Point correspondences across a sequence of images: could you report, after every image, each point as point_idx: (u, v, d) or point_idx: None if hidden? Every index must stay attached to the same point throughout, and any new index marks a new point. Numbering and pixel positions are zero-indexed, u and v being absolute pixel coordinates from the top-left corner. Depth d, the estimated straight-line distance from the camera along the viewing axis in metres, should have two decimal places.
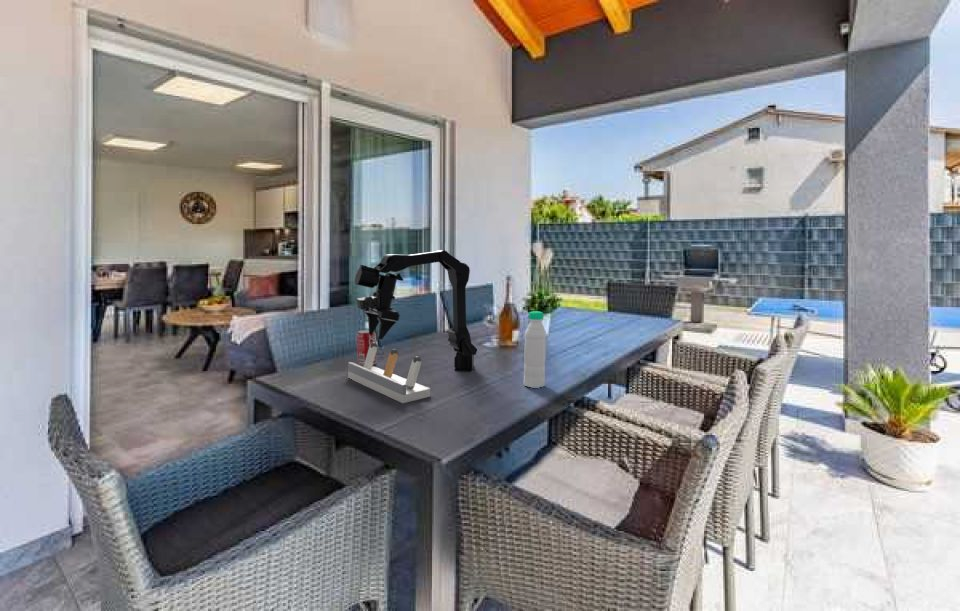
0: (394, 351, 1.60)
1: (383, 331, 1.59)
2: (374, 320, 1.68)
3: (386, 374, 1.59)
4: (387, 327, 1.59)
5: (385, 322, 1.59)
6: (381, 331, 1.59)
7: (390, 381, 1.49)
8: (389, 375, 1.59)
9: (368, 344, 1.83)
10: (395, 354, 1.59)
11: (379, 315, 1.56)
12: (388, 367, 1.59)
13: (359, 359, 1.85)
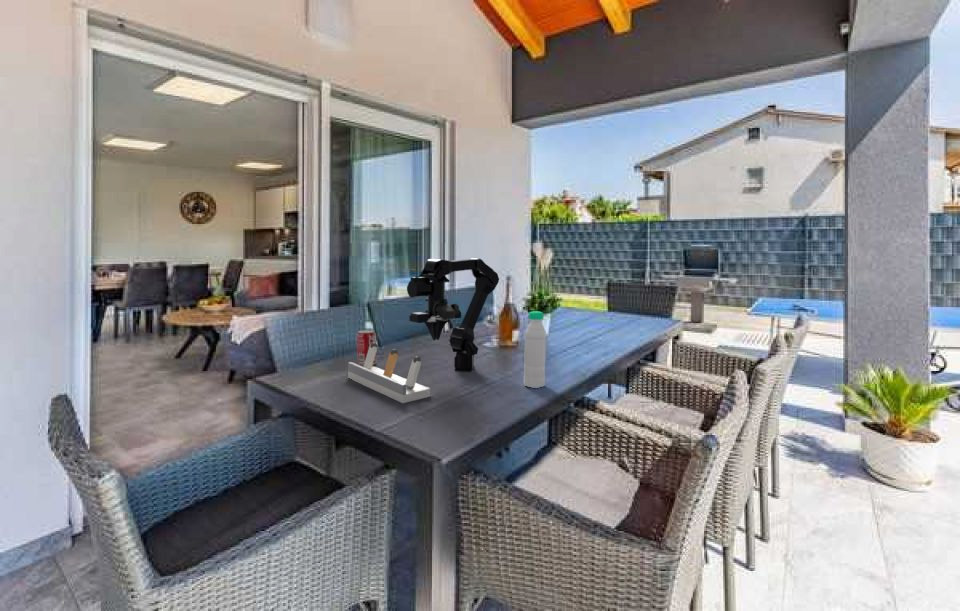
0: (394, 351, 1.60)
1: None
2: None
3: (386, 374, 1.59)
4: None
5: None
6: None
7: (390, 381, 1.49)
8: (389, 375, 1.59)
9: (368, 344, 1.83)
10: (395, 354, 1.59)
11: (457, 316, 1.73)
12: (388, 367, 1.59)
13: (359, 359, 1.85)
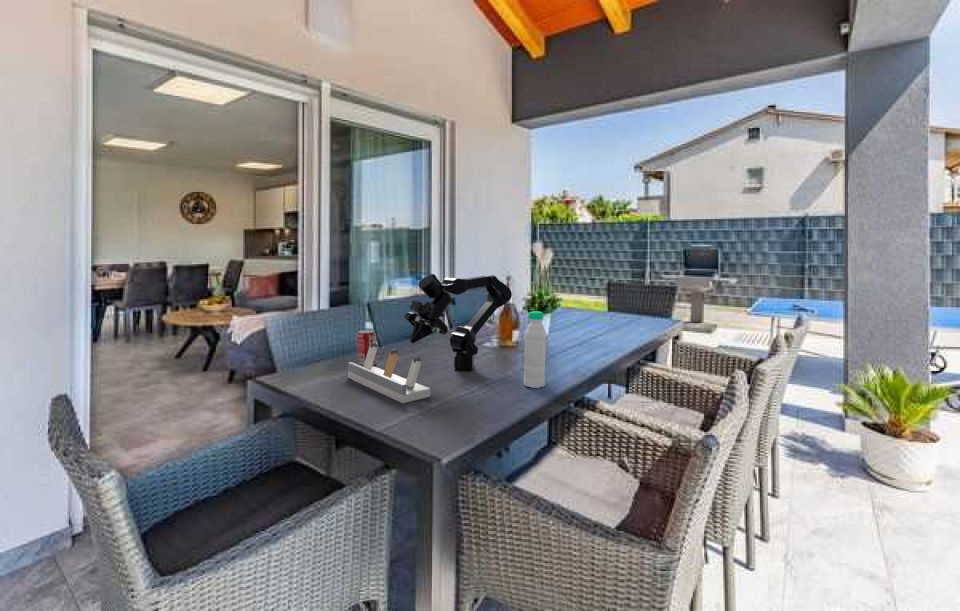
0: (394, 351, 1.60)
1: (418, 336, 1.65)
2: None
3: (386, 374, 1.59)
4: (423, 334, 1.66)
5: (423, 329, 1.66)
6: (417, 335, 1.65)
7: (390, 381, 1.49)
8: (389, 375, 1.59)
9: (368, 344, 1.83)
10: (395, 354, 1.59)
11: (432, 321, 1.61)
12: (388, 367, 1.59)
13: (359, 359, 1.85)
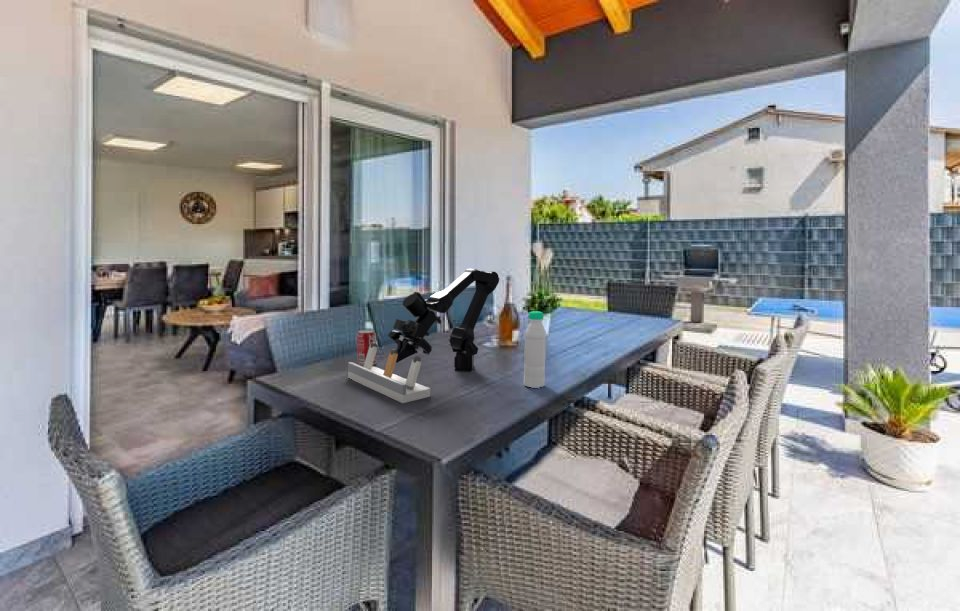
0: (394, 351, 1.60)
1: (401, 356, 1.61)
2: None
3: (386, 374, 1.59)
4: (407, 354, 1.62)
5: (407, 348, 1.62)
6: (400, 355, 1.61)
7: (390, 381, 1.49)
8: (389, 375, 1.59)
9: (368, 344, 1.83)
10: (395, 354, 1.59)
11: (415, 341, 1.57)
12: (388, 367, 1.59)
13: (359, 359, 1.85)
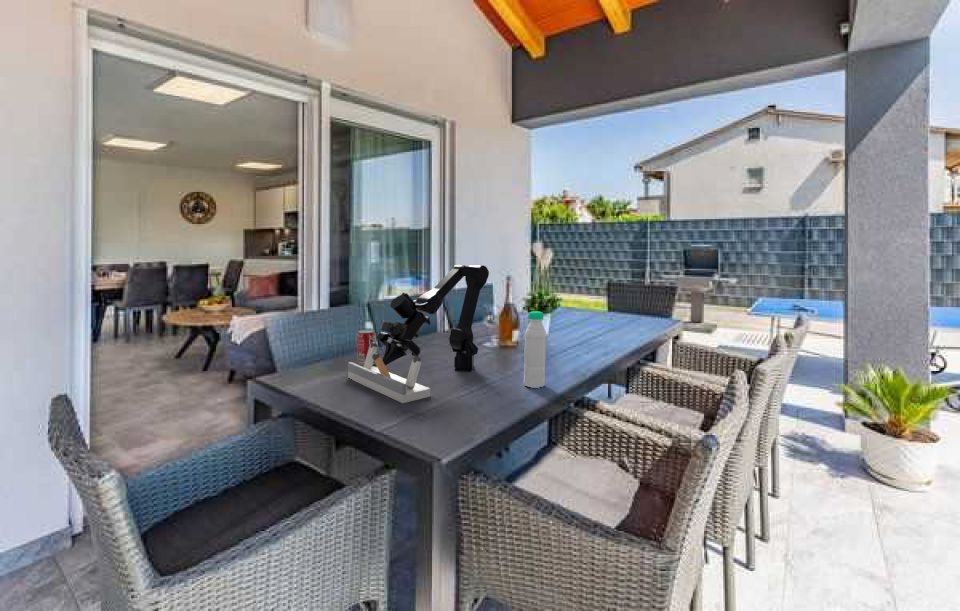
0: (375, 357, 1.55)
1: (390, 358, 1.58)
2: None
3: None
4: (395, 356, 1.59)
5: (396, 351, 1.59)
6: (388, 357, 1.58)
7: (390, 381, 1.49)
8: (387, 376, 1.58)
9: (368, 344, 1.83)
10: (378, 359, 1.55)
11: (403, 343, 1.54)
12: (381, 371, 1.58)
13: (359, 359, 1.85)
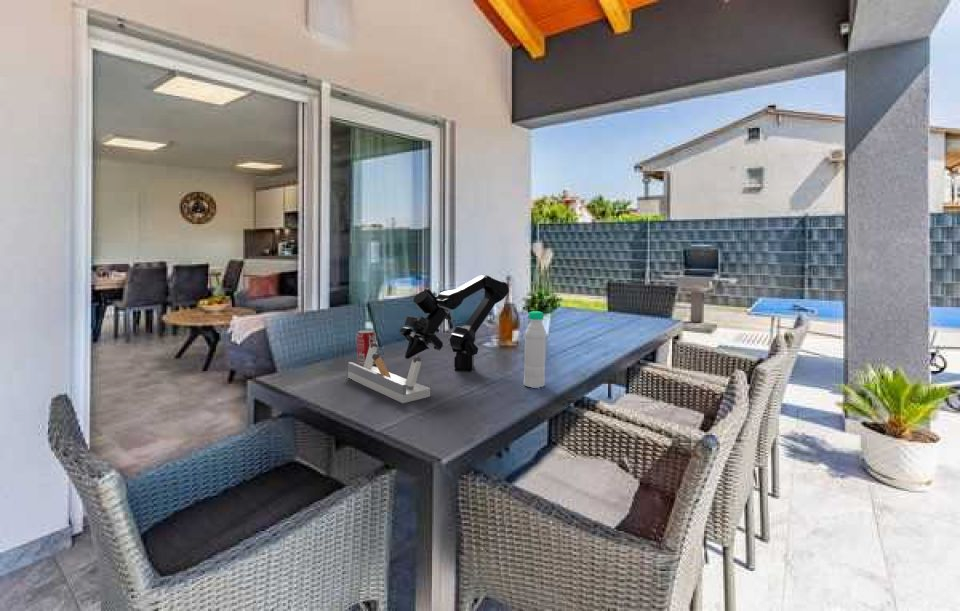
0: (375, 357, 1.55)
1: (413, 352, 1.64)
2: None
3: None
4: (418, 350, 1.65)
5: (418, 345, 1.65)
6: (411, 351, 1.64)
7: (390, 381, 1.49)
8: (387, 376, 1.58)
9: (368, 344, 1.83)
10: (378, 359, 1.55)
11: (426, 337, 1.60)
12: (381, 371, 1.58)
13: (359, 359, 1.85)
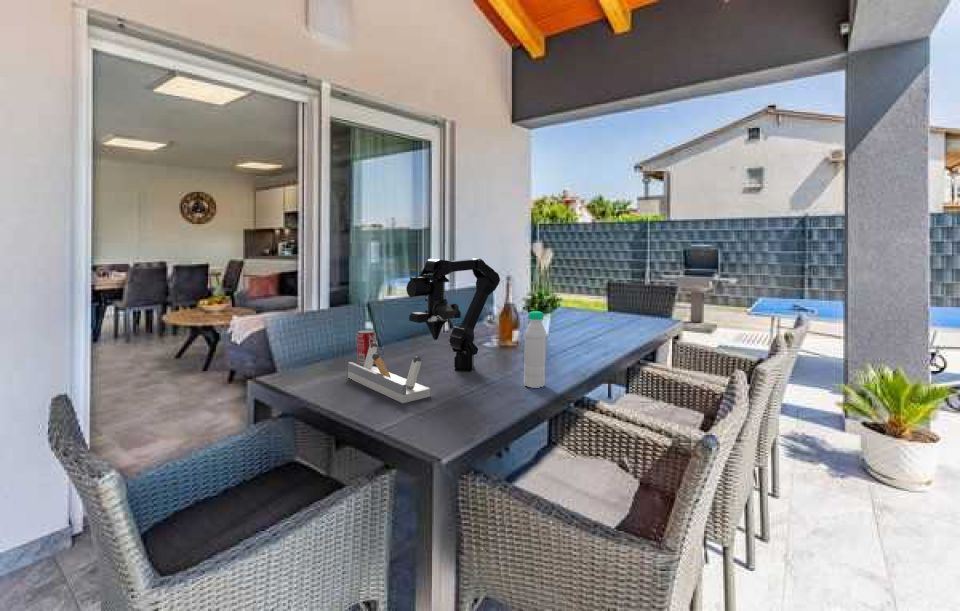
0: (375, 357, 1.55)
1: None
2: None
3: None
4: None
5: None
6: None
7: (390, 381, 1.49)
8: (387, 376, 1.58)
9: (368, 344, 1.83)
10: (378, 359, 1.55)
11: (457, 316, 1.74)
12: (381, 371, 1.58)
13: (359, 359, 1.85)
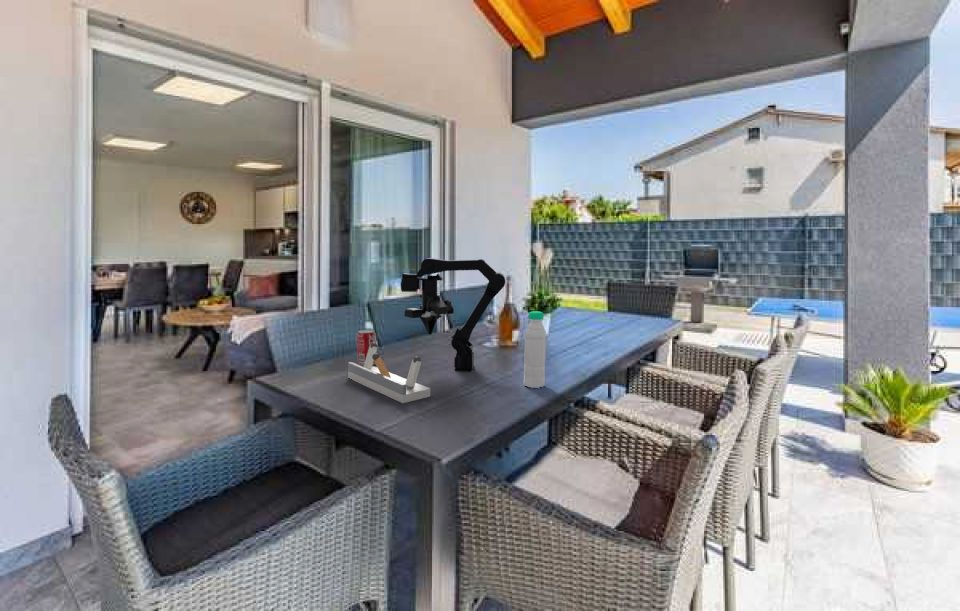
0: (375, 357, 1.55)
1: None
2: None
3: None
4: None
5: None
6: None
7: (390, 381, 1.49)
8: (387, 376, 1.58)
9: (368, 344, 1.83)
10: (378, 359, 1.55)
11: (450, 312, 1.83)
12: (381, 371, 1.58)
13: (359, 359, 1.85)
